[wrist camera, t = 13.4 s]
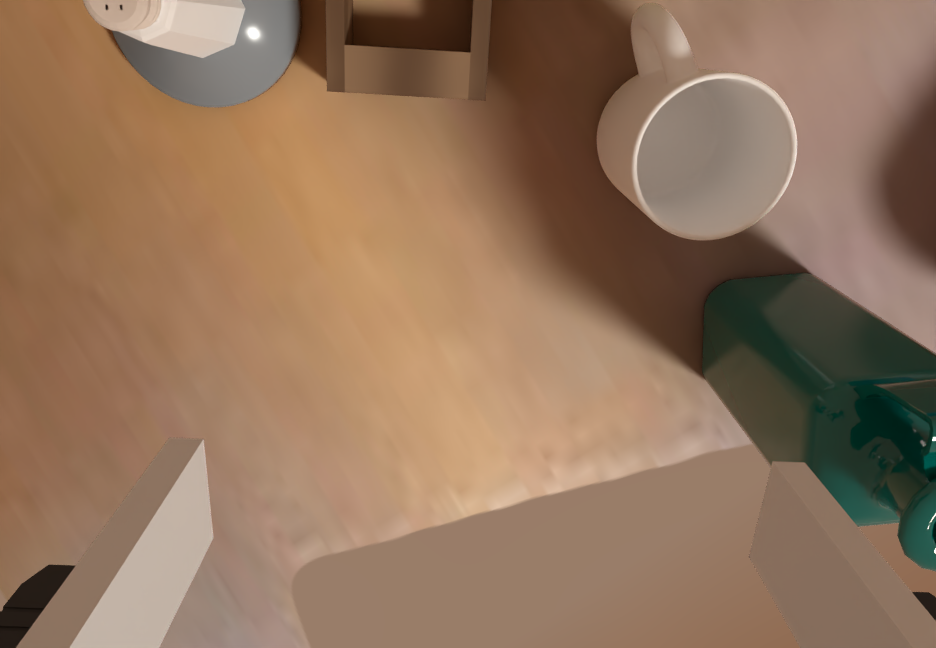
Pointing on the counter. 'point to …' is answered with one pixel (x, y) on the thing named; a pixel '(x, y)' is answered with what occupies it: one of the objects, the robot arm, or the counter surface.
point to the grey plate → (225, 58)
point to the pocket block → (406, 61)
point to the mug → (694, 137)
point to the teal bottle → (831, 397)
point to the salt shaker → (173, 22)
